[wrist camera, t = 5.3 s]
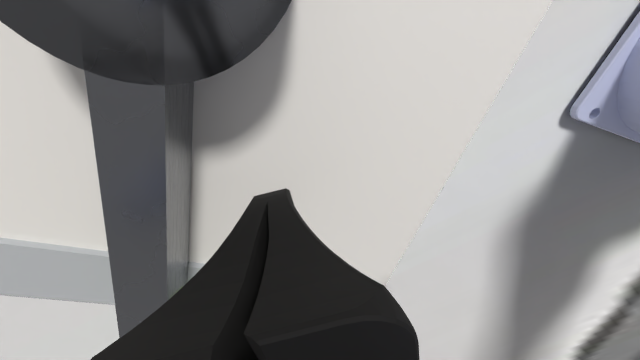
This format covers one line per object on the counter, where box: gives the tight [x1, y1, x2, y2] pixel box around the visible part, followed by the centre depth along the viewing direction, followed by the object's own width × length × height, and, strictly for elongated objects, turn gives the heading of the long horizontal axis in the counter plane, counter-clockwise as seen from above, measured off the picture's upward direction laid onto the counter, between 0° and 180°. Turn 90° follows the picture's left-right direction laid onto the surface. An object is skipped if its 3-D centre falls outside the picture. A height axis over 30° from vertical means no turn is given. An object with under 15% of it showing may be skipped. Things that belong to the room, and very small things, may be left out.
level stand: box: [0, 0, 553, 305], centre depth 11 cm, size 18×20×2 cm
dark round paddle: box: [0, 0, 292, 338], centre depth 9 cm, size 18×7×3 cm, turn 167°
